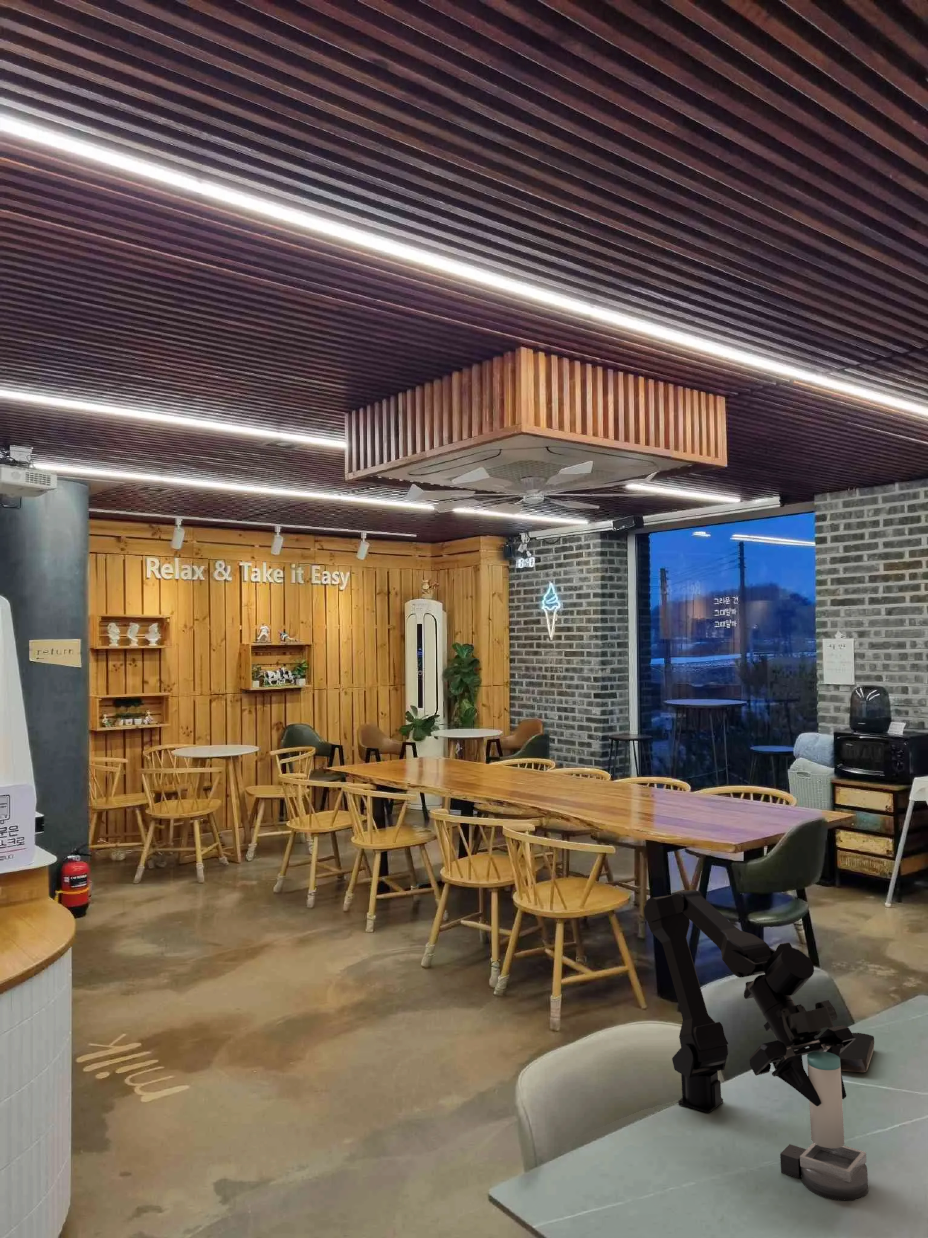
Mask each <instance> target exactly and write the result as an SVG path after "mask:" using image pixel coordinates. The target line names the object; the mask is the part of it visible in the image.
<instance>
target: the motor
mask: <svg viewBox="0 0 928 1238" xmlns="http://www.w3.org/2000/svg"><path fill="white" fill-rule="evenodd" d="M779 1158H780V1159H779V1160H780V1173H781V1174H785V1175H787V1176H791V1177H794V1178H797V1179H800V1178H801V1182H802V1184H803V1186H805V1188H806V1189H808V1190H809V1191H810V1192H812V1193H814V1194H815V1195H818V1196H820V1197H822V1198H823V1197H824V1198H825V1199H829V1200H834V1201H840V1202H841V1201H842V1202H843V1201H844V1202H846V1201H847V1202H848V1201H850V1202H851V1201H857V1200H860V1199H862V1198H864V1197H865V1196H867V1194H869V1178H868V1177H869V1176H868V1173H869V1172H868V1167H867V1165H866V1164H867V1162H868V1161H867V1152H866V1151H863V1150H859V1149H856V1148H853V1147H850V1146H846V1145H843V1146H842V1147H840V1148H825V1147H821V1146H819V1145H817V1144H815V1143H814V1142H813V1141H812V1143H811V1144H810V1145H809V1146H808V1147H807V1148H803V1147H801V1146H797V1145H794V1144H790V1143H789V1144H788V1145H787V1146H786V1147H785V1148H784V1149H783V1150H782V1151H781V1152H780V1153H779Z"/></svg>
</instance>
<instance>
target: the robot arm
mask: <svg viewBox="0 0 928 1238" xmlns="http://www.w3.org/2000/svg"><path fill="white" fill-rule="evenodd" d="M643 914H644V918H645V919H646V922H647V925H648V927H649V930H650V932H651V934H653V935H654V936H655V938H656V939H657V940H658V942H660V943H661V946H662V949H663V951H664V955H665V959H666V963H667V966H668V967H667V968H668V969H669V974H670V977H671V981H672V985H673V988H674V991H675V995H676V999H677V1002H678V1003H677V1004H678V1007H679V1010H680V1014H681V1017H682V1021H681V1022H682V1023H681V1026H680V1031H679V1037H678V1038H679V1039H678V1040H679V1044H680V1048H679V1049H678V1051H676V1053H675V1054H673V1056H672V1058H671V1061H672V1065H673V1069H674V1071H676V1072H677V1073H679V1074H680V1077H681V1098H680V1099H679V1100H678V1101H677V1103H678V1105H680V1106H684V1107H686V1108H689V1109H694V1110H697V1111H700V1112H703V1113H708V1114H709V1113H711V1112H712V1111H713V1110H715V1109H716V1108H717V1107H719V1106H720V1105H721V1104H722V1103H724V1099H723V1098H722V1090H721V1089H722V1086H721V1080H719V1071H725V1068H726V1064H727V1059H728V1056H729V1047H728V1045H729V1042H728V1041H727V1038H726V1035H725V1031H724V1026H723V1024H722V1023H721V1022H720V1021H717V1022H716V1021H715V1020H714V1019H713V1018H712V1017H711V1016H710V1015H709V1012H708V1010H707V1006H706V1003H705V999H704V995H703V992H702V988H701V985H700V981H699V978H698V977H699V976H698V975H697V970H696V967H695V963H694V961H693V957H692V953H691V950H690V945H689V941H688V939H687V937H688V933H689V929H690V926H691V925H690V924H691V922H692V924H693V925H695V927H696V928H698V929H699V930H700V931H701V932H702V933H703V934H704V935H705V936H706V937H707V938H708V939H709V940H710V941H712V943H713V944H714V945H716V946H717V948H718V949H719V950H720V952H721V959H722V962H724V964H725V965H726V967H728V969H729V971H730V972H731V973H732V974H733V975H734V976H735V977H737V978H747V977H751V976H756V977H755V978H754V980H751V981H746V982H745V989H744V992H743V998H744V999H746V1000H748V999H752V998H753V1000H754V1001H755V1003H756V1005H757V1007H758V1008H759V1010H760V1011H761V1014H762V1015H763V1017H764V1019H765V1021H766V1022H765V1024H763V1027H764V1029H765V1031H766V1032H772V1033H773V1036H774V1037H775V1038H776V1039H775V1040H771V1041H769V1042H765V1043H761V1044H760V1046H758V1048H756V1050H755V1051H753V1053H752V1054H751V1055H750V1056H749V1066H750V1068H751V1070H752V1072H753V1073H754V1075H755V1076H757V1077H758V1076H760V1075H764V1074H767V1073H769V1072H770V1071H771V1067H773V1068H774V1070H773V1071H772V1072H771V1075H772V1076H773V1077H777V1078H779V1079H780V1080H782V1081H783V1082H784V1083H786V1084H788V1085H790V1087H792V1088H793V1089H794V1090H796V1091H797V1092H798V1093H799V1094H800V1095H802V1097H804V1098H805V1099H807V1100H808V1101H811V1102H812V1103H813V1104H814V1105H816V1106H819V1105H820V1104H821V1101H820V1098H819V1096H818V1094H817V1092H816V1090H815V1088H814V1086H813V1085H812V1083H811V1081H810V1079H809V1077H808V1073H807V1072H806V1070H805V1067H804V1063H803V1056H805V1055H806V1056H807V1054H808V1053H810V1052H815V1051H823V1052H829V1053H832V1054H835V1055H837V1056H838V1057H839V1054H840V1053H841V1052H842V1051H843V1050H844V1049H845V1048H847V1047H848V1046H849V1045H850V1044H851V1043H852V1042H853V1041H854V1040H855V1037H854V1036H853V1034H852V1033H853V1032H852V1030H851V1029H850V1028H849V1027H848V1026H845V1025H844V1024H843V1025H842V1024H841V1025H837V1026H834V1024H833V1021H837V1020H838V1014H837V1011H836V1009H835V1007H834V1006H833V1004H832V1003H831V1001H830V1000H823V1001H819V1002H816V1003H815V1004H814V1007H815V1009H811V1010H806V1008H805V1007H804V1006H803V1005H802V1003H800V1004H796V1003H795V1001H794V999H793V998H792V996H794V995H796V994H797V993H798V992H799V991H800V989H801V988H802V987H803V986H804V985H805V984H806V983H807V982H808V981H809V979H810V978H812V977H813V975H814V972H815V967H814V963H813V961H812V959H811V958H810V957H809V956H808V955H806V954H805V953H804V952H802V951H801V950H799V949H797V948H794V947H793V945H791V943H790V942H783V943H779V944H778V946H777V947H776V949H773V948H771V947H770V945H768V943H767V942H766V941H764V940H763V939H762V938H760V937H758V936H757V935H755V934H753V933H750V932H746V931H743V930H741V929H739V928H738V927H736V926H735V925H734V924H733V923H732V922H731V921H729V919H728V918H726V917H725V915H723V914H722V913H721V912H720V911H719V910H718V909H716V908H715V907H714V906H713V905H712V904H711V903H710V902H709V901H707V899H705V897H704V895H703V893H702V892H701V891H700V890H696V889H689V890H682V891H678V892H676V893H674V894H671V895H663V896H656V897H650V898H647V901H646V904H645V905H644V908H643ZM757 975H758V976H757ZM825 1028H827V1029H825ZM821 1029H825V1031H824V1032H823V1033H822V1034H820V1033H821V1032H822V1031H821ZM818 1035H820V1036H819V1037H818V1038H815V1037H816V1036H818ZM772 1065H773V1066H772ZM841 1085H842V1100H845V1099H846V1098H847V1093H846V1088H845V1084H844V1079H843V1075H842V1074H841Z"/></svg>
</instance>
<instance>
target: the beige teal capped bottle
mask: <svg viewBox="0 0 928 1238" xmlns="http://www.w3.org/2000/svg"><path fill="white" fill-rule="evenodd" d="M806 1056H807V1057H806V1059H807V1060H806V1063H807V1075H808V1077H809V1079H810V1081H811V1083H812V1085H813V1086H814V1088H815V1090H816V1092H817V1094H818V1096H819V1098H820V1101H821V1104H820V1105H819V1106H816V1105H814V1104H813V1103H812V1102H811V1101H809V1100H808V1101H809V1103H808V1104H809V1118H810V1119H809V1122H810V1140H811V1141H812V1143H813V1142H814V1143H815V1144H817V1145H819V1146H821V1147H825V1148H840V1147H842V1146H845V1128H844V1111H843V1109H844V1108H843V1099H842V1085H841V1075H842V1071H841V1066H840V1058H839V1057H838V1056H837V1055H835V1054H832V1053H829V1052H823V1051H815V1052H810V1053H808V1054H806Z"/></svg>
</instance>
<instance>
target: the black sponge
mask: <svg viewBox="0 0 928 1238" xmlns="http://www.w3.org/2000/svg"><path fill="white" fill-rule="evenodd" d="M852 1034H853V1036H854V1037H855V1040H854V1041H853V1042H852V1043H851V1044H850V1045H849V1046H848V1047H847V1048H845V1049H844V1050H843V1051H842V1052H841V1053H840V1054H839V1058H840V1066H841V1072H855V1073H866V1072H868V1069H869V1066H870V1063H871V1059H872V1057H873V1054H874V1049H875V1037H874V1035H871V1034H868V1033H867V1034H866V1033H862V1032H852Z"/></svg>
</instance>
